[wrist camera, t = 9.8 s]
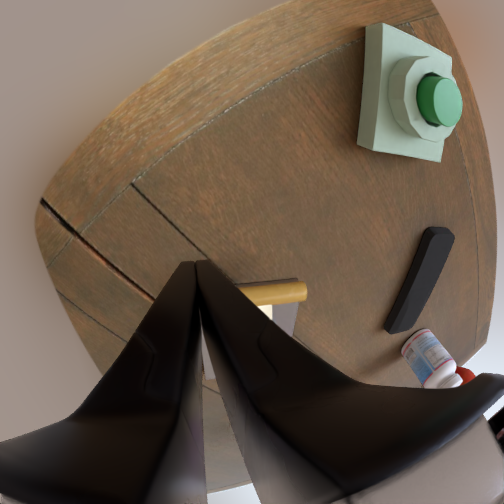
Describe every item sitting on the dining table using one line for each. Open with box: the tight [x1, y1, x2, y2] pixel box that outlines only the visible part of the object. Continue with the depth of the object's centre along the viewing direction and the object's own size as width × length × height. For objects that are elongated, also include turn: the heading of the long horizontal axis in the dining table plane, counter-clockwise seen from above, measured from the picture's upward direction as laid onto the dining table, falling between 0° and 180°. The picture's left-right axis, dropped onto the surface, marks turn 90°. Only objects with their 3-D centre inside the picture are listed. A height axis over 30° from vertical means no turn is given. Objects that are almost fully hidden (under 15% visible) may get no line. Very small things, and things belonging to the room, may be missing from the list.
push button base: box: [357, 23, 456, 162], centre depth 16 cm, size 10×8×4 cm
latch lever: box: [238, 281, 307, 320], centre depth 20 cm, size 11×6×2 cm, turn 177°
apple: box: [455, 366, 475, 385], centre depth 50 cm, size 9×8×11 cm
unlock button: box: [416, 76, 462, 127], centre depth 14 cm, size 4×4×2 cm
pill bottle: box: [401, 329, 463, 388], centre depth 33 cm, size 6×6×11 cm
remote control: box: [384, 227, 455, 334], centre depth 29 cm, size 5×2×15 cm
